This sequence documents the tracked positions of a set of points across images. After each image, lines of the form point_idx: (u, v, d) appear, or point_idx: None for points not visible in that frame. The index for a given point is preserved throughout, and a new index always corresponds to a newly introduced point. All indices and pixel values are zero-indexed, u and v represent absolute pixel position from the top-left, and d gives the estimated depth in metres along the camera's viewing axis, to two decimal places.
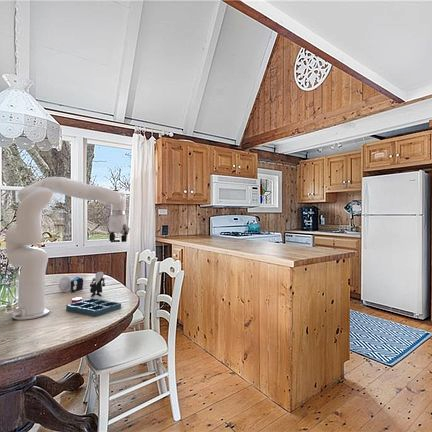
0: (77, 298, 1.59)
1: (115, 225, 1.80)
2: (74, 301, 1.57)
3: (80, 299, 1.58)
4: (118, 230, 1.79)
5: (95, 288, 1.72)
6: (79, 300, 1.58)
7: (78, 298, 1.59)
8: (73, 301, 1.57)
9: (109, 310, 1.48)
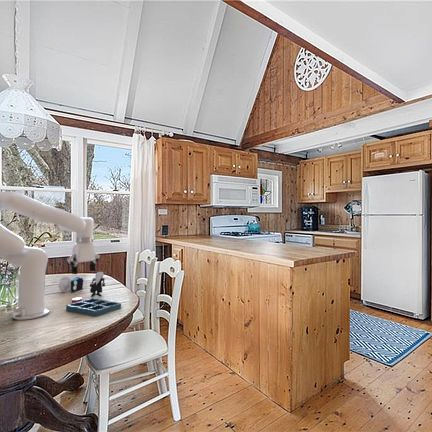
0: (77, 298, 1.59)
1: None
2: (74, 301, 1.57)
3: (80, 299, 1.58)
4: None
5: (95, 288, 1.72)
6: (79, 300, 1.58)
7: (78, 298, 1.59)
8: (73, 301, 1.57)
9: (109, 310, 1.48)
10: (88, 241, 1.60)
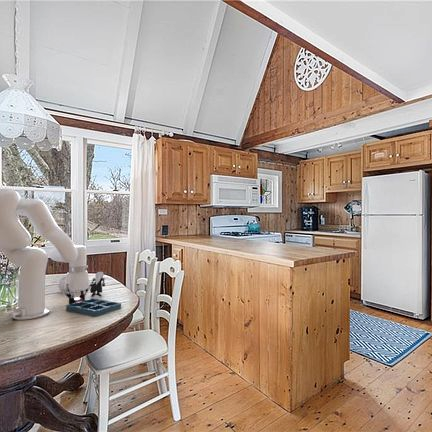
0: (77, 298, 1.59)
1: None
2: None
3: (80, 299, 1.58)
4: None
5: (95, 288, 1.72)
6: (79, 300, 1.58)
7: (78, 298, 1.59)
8: None
9: (109, 310, 1.48)
10: (81, 270, 1.57)
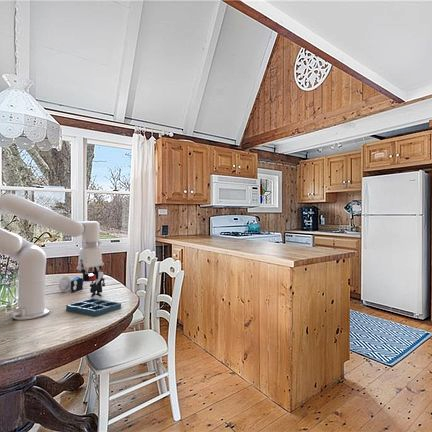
0: (91, 274, 1.57)
1: None
2: None
3: (94, 275, 1.56)
4: None
5: (95, 288, 1.72)
6: (93, 276, 1.56)
7: (92, 274, 1.57)
8: None
9: (109, 310, 1.48)
10: (95, 246, 1.55)
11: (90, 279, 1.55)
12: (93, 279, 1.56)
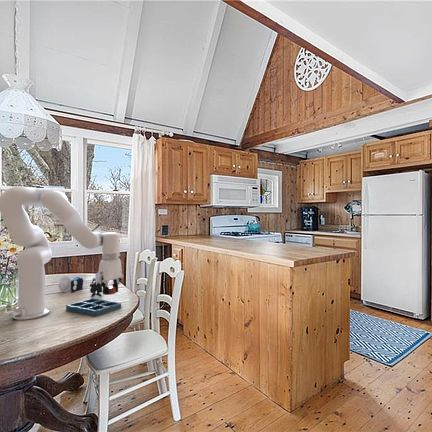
0: (110, 287, 1.53)
1: None
2: None
3: (114, 288, 1.52)
4: None
5: (95, 288, 1.72)
6: (113, 289, 1.51)
7: (112, 287, 1.53)
8: None
9: (109, 310, 1.48)
10: (115, 258, 1.50)
11: (110, 292, 1.51)
12: (113, 292, 1.51)
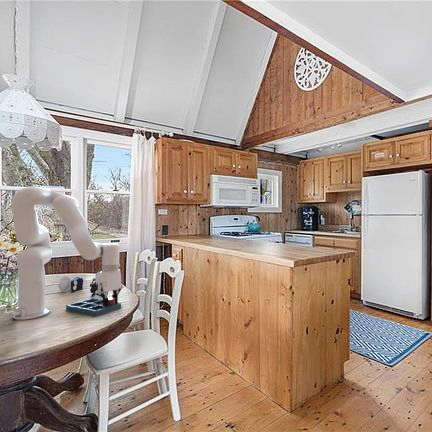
0: (110, 298, 1.53)
1: None
2: (108, 301, 1.50)
3: (113, 299, 1.52)
4: None
5: (95, 288, 1.72)
6: (112, 300, 1.51)
7: (111, 298, 1.53)
8: None
9: (109, 310, 1.48)
10: (115, 269, 1.51)
11: (109, 303, 1.51)
12: (112, 303, 1.51)
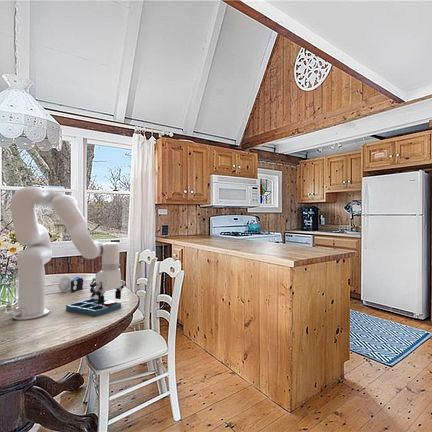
0: (109, 301, 1.53)
1: None
2: (107, 305, 1.50)
3: (113, 303, 1.52)
4: None
5: None
6: (112, 304, 1.51)
7: (111, 301, 1.53)
8: (106, 305, 1.50)
9: (109, 310, 1.48)
10: (114, 268, 1.50)
11: None
12: None
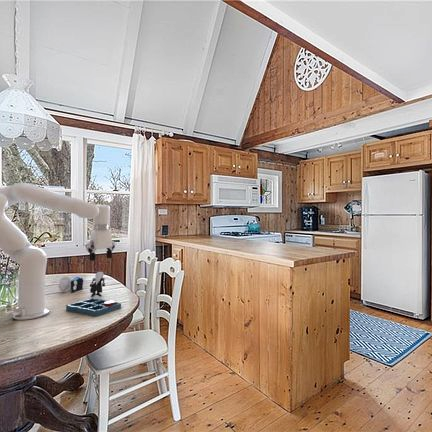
0: (109, 301, 1.53)
1: None
2: (107, 305, 1.50)
3: (113, 303, 1.52)
4: None
5: (95, 288, 1.72)
6: (112, 304, 1.51)
7: (111, 301, 1.53)
8: (106, 305, 1.50)
9: (109, 310, 1.48)
10: (105, 228, 1.62)
11: None
12: None
